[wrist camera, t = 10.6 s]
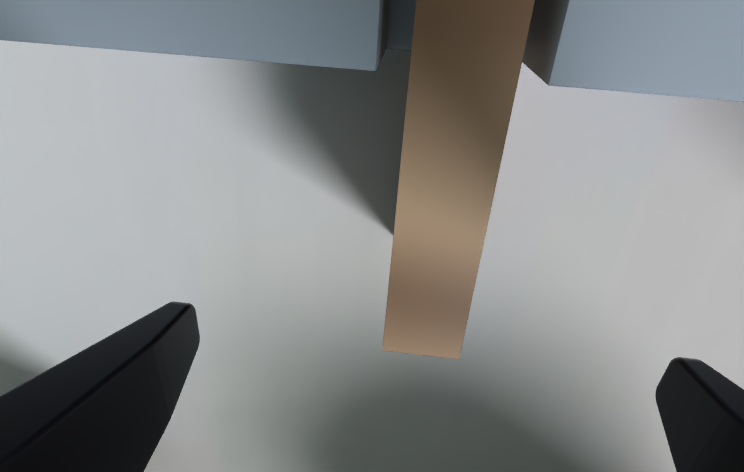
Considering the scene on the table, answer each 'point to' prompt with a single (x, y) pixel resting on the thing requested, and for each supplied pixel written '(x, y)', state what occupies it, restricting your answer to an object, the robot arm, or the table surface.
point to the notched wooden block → (450, 165)
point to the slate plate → (395, 31)
